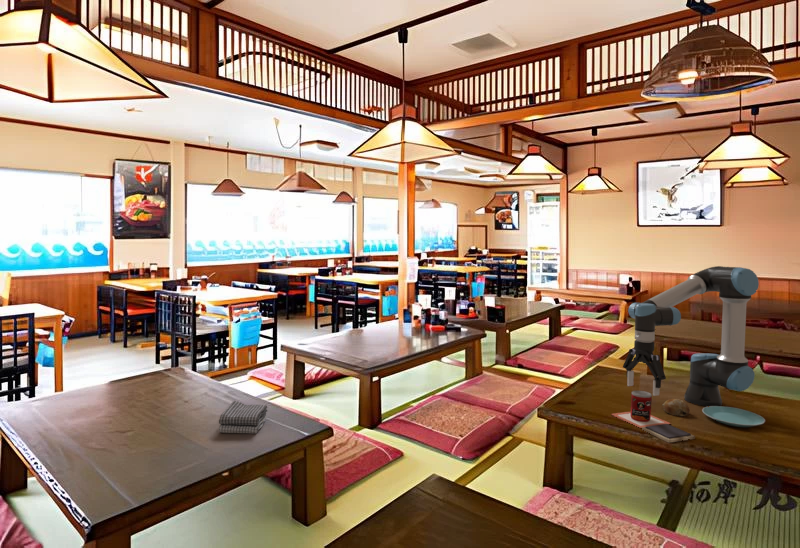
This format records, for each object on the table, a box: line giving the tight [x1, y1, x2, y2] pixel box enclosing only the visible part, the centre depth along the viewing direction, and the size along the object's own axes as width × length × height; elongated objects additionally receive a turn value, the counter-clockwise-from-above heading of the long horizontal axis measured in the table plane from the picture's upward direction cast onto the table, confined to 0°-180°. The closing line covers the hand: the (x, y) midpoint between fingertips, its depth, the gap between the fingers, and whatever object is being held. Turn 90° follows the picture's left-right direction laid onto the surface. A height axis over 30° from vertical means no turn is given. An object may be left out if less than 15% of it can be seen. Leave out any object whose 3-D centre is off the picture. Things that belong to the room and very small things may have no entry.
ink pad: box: [641, 424, 696, 444], centre depth 191 cm, size 13×13×2 cm
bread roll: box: [662, 398, 690, 417], centre depth 216 cm, size 10×10×8 cm
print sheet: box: [610, 411, 672, 429], centre depth 206 cm, size 16×16×1 cm
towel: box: [218, 400, 268, 434], centre depth 192 cm, size 15×18×8 cm
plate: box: [701, 405, 766, 428], centre depth 207 cm, size 22×22×3 cm
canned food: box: [630, 390, 653, 422], centre depth 206 cm, size 8×8×11 cm
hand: (642, 390), depth 206 cm, fingers open, 13 cm apart
